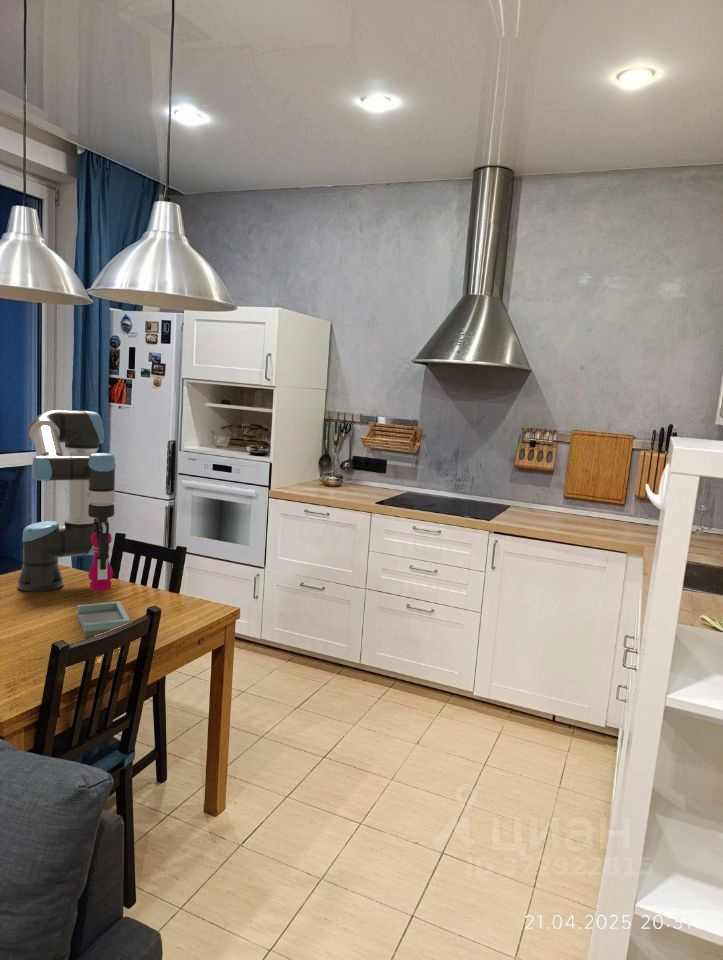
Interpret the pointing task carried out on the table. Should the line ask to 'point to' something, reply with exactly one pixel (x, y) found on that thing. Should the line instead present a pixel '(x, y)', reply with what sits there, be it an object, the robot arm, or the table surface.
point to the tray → (101, 617)
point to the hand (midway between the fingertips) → (100, 575)
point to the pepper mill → (93, 572)
